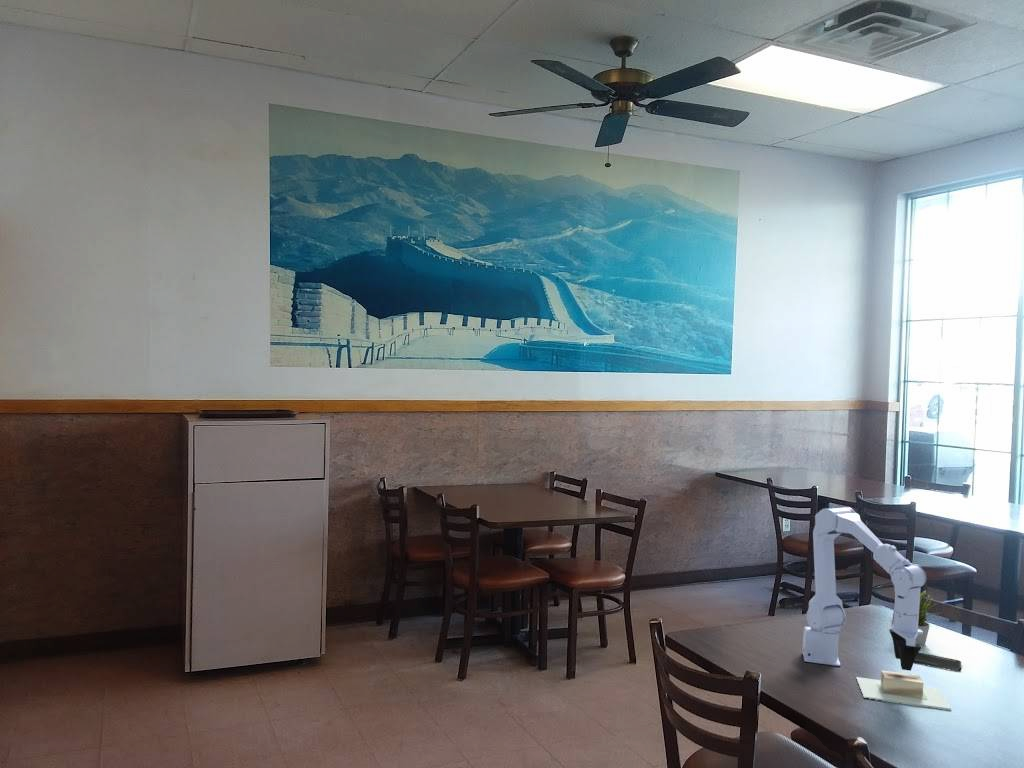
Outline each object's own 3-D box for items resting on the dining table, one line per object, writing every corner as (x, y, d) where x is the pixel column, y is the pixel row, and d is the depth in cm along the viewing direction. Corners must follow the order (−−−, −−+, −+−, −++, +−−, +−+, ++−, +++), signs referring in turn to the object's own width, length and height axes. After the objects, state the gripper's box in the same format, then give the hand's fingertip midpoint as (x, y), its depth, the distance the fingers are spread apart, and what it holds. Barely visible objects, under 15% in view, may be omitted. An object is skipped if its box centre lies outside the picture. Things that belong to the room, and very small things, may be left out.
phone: (903, 649, 238) (961, 660, 231) (903, 653, 238) (960, 664, 231) (901, 657, 231) (961, 669, 224) (901, 661, 231) (960, 673, 224)
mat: (863, 698, 204) (863, 696, 204) (856, 678, 216) (856, 676, 216) (951, 710, 199) (951, 708, 199) (938, 689, 211) (938, 687, 211)
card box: (922, 698, 204) (923, 682, 204) (883, 693, 206) (884, 677, 206) (918, 690, 209) (919, 675, 209) (880, 685, 211) (881, 670, 211)
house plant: (894, 629, 258) (897, 579, 257) (943, 640, 250) (946, 588, 249) (885, 642, 246) (888, 589, 245) (935, 653, 238) (939, 598, 237)
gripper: (930, 623, 199) (926, 677, 199) (917, 605, 213) (913, 656, 213) (899, 619, 200) (895, 672, 201) (888, 602, 214) (885, 652, 215)
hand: (903, 664), depth 207 cm, fingers open, 7 cm apart
